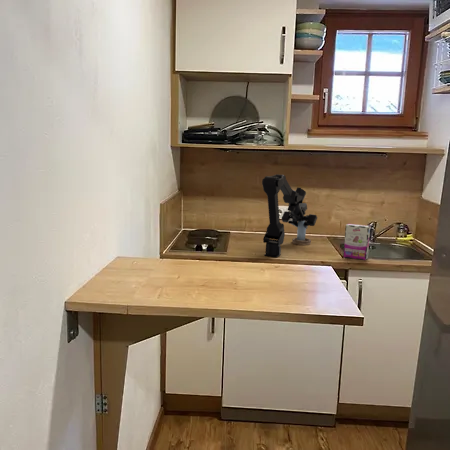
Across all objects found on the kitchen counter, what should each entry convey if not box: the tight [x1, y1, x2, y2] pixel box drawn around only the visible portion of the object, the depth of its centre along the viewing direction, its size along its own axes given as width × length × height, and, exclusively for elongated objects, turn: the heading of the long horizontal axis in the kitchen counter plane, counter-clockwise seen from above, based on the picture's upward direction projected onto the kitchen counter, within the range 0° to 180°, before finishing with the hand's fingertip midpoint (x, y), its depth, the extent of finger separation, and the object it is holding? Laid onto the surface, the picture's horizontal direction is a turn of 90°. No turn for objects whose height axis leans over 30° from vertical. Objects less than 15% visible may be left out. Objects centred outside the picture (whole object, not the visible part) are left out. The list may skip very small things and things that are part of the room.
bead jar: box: [296, 221, 307, 241], centre depth 257 cm, size 5×5×13 cm
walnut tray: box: [291, 237, 312, 246], centre depth 259 cm, size 10×10×2 cm
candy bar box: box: [342, 223, 371, 261], centre depth 229 cm, size 11×5×16 cm, turn 62°
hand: (302, 227), depth 258 cm, fingers closed on bead jar, 5 cm apart
